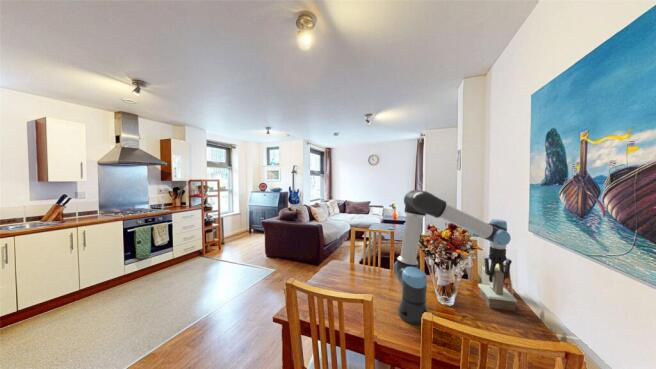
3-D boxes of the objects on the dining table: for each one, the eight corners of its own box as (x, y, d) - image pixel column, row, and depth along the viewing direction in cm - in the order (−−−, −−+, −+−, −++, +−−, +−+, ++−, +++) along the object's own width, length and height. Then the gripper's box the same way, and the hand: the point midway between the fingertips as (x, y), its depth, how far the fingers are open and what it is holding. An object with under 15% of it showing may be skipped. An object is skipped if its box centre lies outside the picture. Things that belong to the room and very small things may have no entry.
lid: (516, 301, 120) (517, 277, 120) (488, 298, 124) (489, 274, 123) (502, 288, 135) (503, 266, 134) (477, 285, 138) (478, 264, 138)
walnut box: (514, 312, 121) (515, 301, 121) (489, 308, 124) (489, 298, 124) (501, 298, 135) (502, 288, 135) (478, 295, 138) (479, 286, 137)
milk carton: (513, 297, 136) (515, 264, 136) (496, 295, 138) (497, 263, 138) (505, 289, 145) (506, 259, 145) (489, 288, 147) (490, 257, 146)
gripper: (511, 246, 130) (509, 286, 131) (478, 244, 134) (477, 283, 135) (518, 250, 123) (516, 293, 123) (484, 248, 127) (482, 289, 127)
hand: (496, 287), depth 129 cm, fingers open, 3 cm apart
